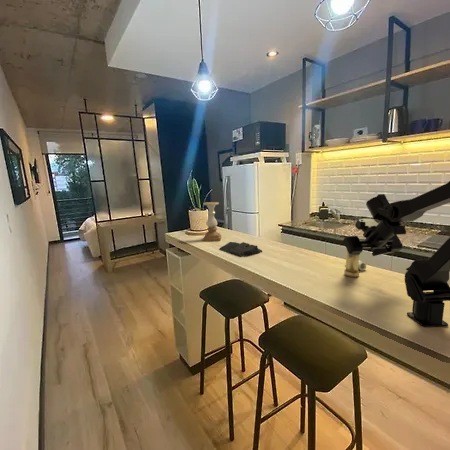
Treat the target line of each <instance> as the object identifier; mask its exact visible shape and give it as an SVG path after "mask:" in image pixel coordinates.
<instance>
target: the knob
mask: <svg viewBox="0 0 450 450" xmlns="http://www.w3.org/2000/svg"><path fill="white" fill-rule="evenodd" d="M348 255H349V253H348V251H347V250H346V257H345V258H346V259H345V269H344V273H343V275H344V276H345V277H349V278H359V277H360V271H359V269H358V266H359V261H360V254H359V255H357V256H354V257H351V258H349V256H348Z"/></svg>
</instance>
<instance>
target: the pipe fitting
mask: <svg viewBox="0 0 450 450" xmlns="http://www.w3.org/2000/svg"><path fill="white" fill-rule="evenodd" d="M366 268H367V263H366V262H364V261H361V260H359V266H358V271H359V270H360V271H365V270H366Z"/></svg>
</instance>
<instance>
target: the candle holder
mask: <svg viewBox="0 0 450 450" xmlns="http://www.w3.org/2000/svg"><path fill="white" fill-rule="evenodd" d="M219 204H220V202H219V201H210V202H209V201H208V202H203V206H206V207H207V209H208V211H207V214H208V219H207V220H206V226H207V232H205V234H204V236H203V239H202V241H203V242H220V241H221V240H222V234H221V233H220V232H218V231H217V230H218V228H217V226H218V221H217V219H216V218H215V214H216V211H215V208H216V206H217V205H219Z"/></svg>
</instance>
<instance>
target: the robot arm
mask: <svg viewBox="0 0 450 450" xmlns="http://www.w3.org/2000/svg"><path fill="white" fill-rule="evenodd" d="M446 204H450V180H449V181H448V182H447V183H444V184H442V185H440V186H438V187H435V188H434V189H431V190H429V191H427V192H424V193H422V194H420V195H418V196H415V197H413V198H409V199H402V200H398V201H392V202H389V200H388V198H387V195H385V193H380V194H377V195H376V196H375V197H371V198H370V199H369V200H367V201H366V203H365V205H366V208H367V209H368V211H369V213H370V215H371V217H372V218H361V219H358V220H356V221H355V224H354V226H355V228H356V230H360V231H362V236H363V238H365V240H360V239H359V236H358V235H346V236H345V237H344V239H343V240H342V242H343V244H344V246H345V248H346V252H347V251H348V253H349V255H348V256H349V258H351V257H354V256H357V255H359V256H360V255H361V253H363V251H364V250H363V249H371V250H373V251H372V253H371V255H372V257H377V256H381V255H385V254H392V253H395V252H400V251H401V250H402V249H403V247H404V246H403V243H402V241H401V240H400V238H399V237H398V236H399V235H406V234H407V230H406V226H405V225H403V222H404V223H405V222H406V223H407V222H414V221H417V220H418V219H420V218H422V217H423V216H424V214H425V213H426V212H428V211H431V210H433V209H437V208H438V207H441V206H444V205H446ZM376 220H377V221H379V222H377V221H376ZM405 270H406V272H405V274H404V283H405V284H404V285H405V289H406V294H407V297H409V298H410V300H412V308H411V309H412V310H411V311H410V312H409V311H408V312H406V315H408V316H409V318H411V319H412V320H414V321H416V322H417V323H418V324H419V325H421V326H422V327H424V328H425V327H448V326H449V323H448V322H447V321H445V320H443V319H444V310H445V302H446V301H447V302H448V301H450V285H449V283H448V281H449V280H450V236H449V237H448V238H447V240H445V241H444V243H442V245H440V247H438V249H437V250H436V251H434V253H433V254H432V255H431V256H430V257H429V258H427V259H414V261H412V262H411V264H410V266H408V267H407V268H405Z"/></svg>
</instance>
